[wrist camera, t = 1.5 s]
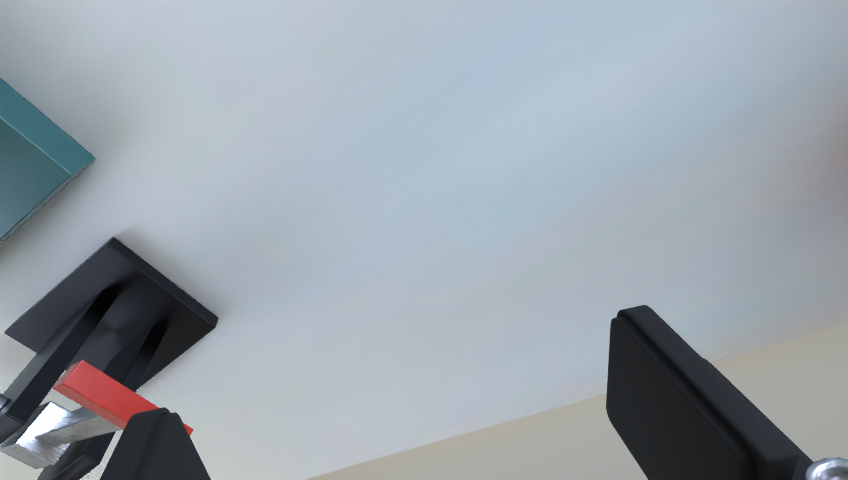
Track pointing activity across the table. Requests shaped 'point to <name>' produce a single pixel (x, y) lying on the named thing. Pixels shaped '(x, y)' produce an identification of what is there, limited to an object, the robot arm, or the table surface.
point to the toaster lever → (75, 416)
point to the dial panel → (32, 160)
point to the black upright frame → (100, 339)
